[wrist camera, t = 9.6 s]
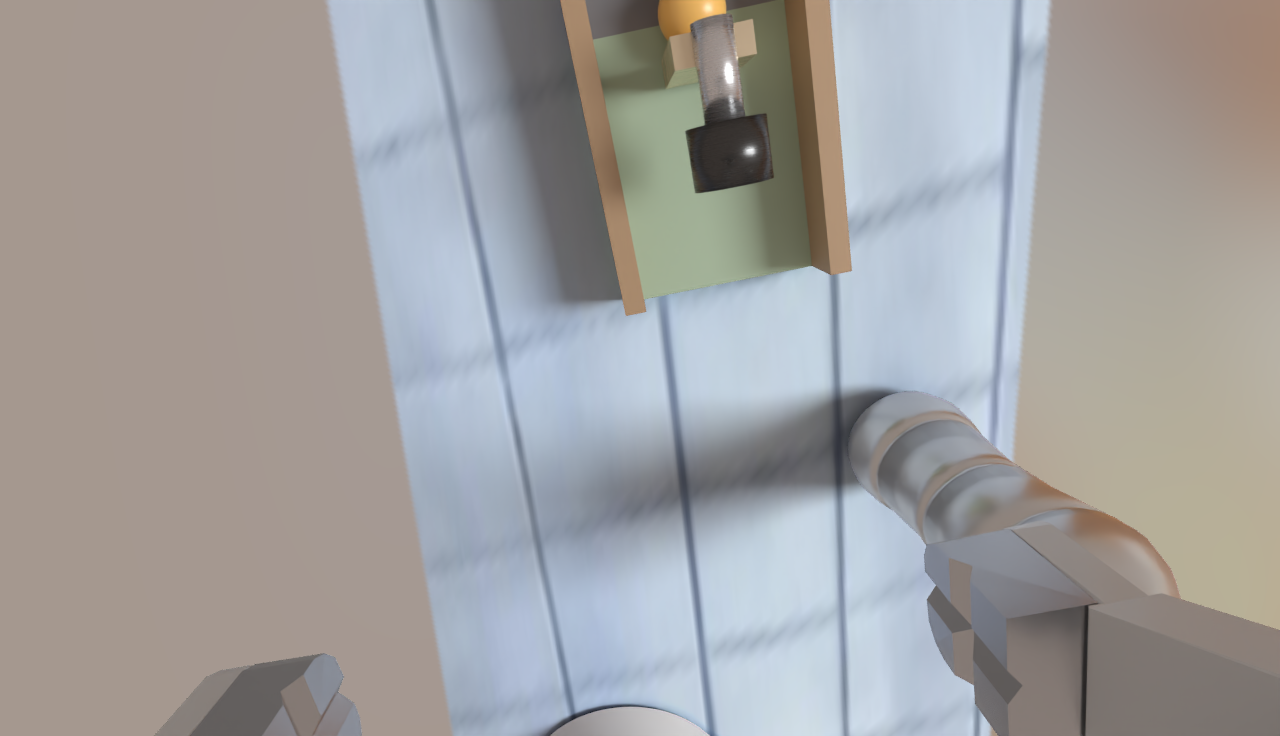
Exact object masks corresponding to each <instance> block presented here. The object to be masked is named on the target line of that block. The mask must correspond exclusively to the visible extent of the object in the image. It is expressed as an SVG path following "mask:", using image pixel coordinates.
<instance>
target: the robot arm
mask: <svg viewBox="0 0 1280 736" xmlns="http://www.w3.org/2000/svg"><path fill="white" fill-rule="evenodd" d="M924 562H925V572H926V573H927V574H928V576H929V577H930V578H931V579H932V581H933V582H934V583H935V584H936V586H935V588H934V589H933V591H932V593H931V594H930V596H929V597H928V599H927V606H928V616H929V623H930V626H931V629H932V633H933V636H934V639H935V642H936V644H937V646H938V648H939V650H940V652H941V654H942V656H943V658H944V660H945V661H946V663H947V664H948V666H949V667H950V669H951V670H952V672H953V673H954V674H955V675H956V676H958V677H960V678H962V679H964V680H965V681H967V682H969V683H971V684H973V685H974V691H975V704H976V706H977V707H978V708H979V710H980V711H981V712H982V714H983V715H984V717H985V718H986V719H987V721H988V722H989V724H990V725H991V726H992V728H993V729H994V731H995V732H996V733H997V735H998V736H1280V630H1278V629H1274V628H1271V627H1268V626H1265V625H1262V624H1259V623H1255V622H1252V621H1249V620H1246V619H1243V618H1239V617H1236V616H1233V615H1230V614H1227V613H1223V612H1220V611H1217V610H1214V609H1211V608H1207V607H1204V606H1201V605H1198V604H1194V603H1191V602H1188V601H1185V600H1182V599H1179V598H1176V597H1172V596H1169V595H1166V594H1163V593H1160V594H1154V595H1147V594H1146V593H1144V592H1143V591H1142V590H1140V589H1139V588H1138V587H1136V586H1135V585H1133V584H1132V583H1131V582H1129V581H1128V580H1127V579H1125V578H1124V577H1123V576H1121V575H1120V574H1119V573H1117V572H1116V571H1114V570H1113V569H1112V568H1110V567H1109V566H1108V565H1106V564H1105V563H1104V562H1102V561H1101V560H1100V559H1098V558H1097V557H1095V556H1094V555H1093V554H1091V553H1090V552H1089V551H1087V550H1086V549H1085V548H1083V547H1082V546H1081V545H1079V544H1078V543H1076V542H1075V541H1074V540H1072V539H1071V538H1070V537H1068V536H1067V535H1066V534H1064V533H1063V532H1062V531H1060V530H1059V529H1057V528H1056V527H1055V526H1053V525H1052V524H1050V523H1047V522H1043V521H1036V522H1031V523H1026V524H1022V525H1017V526H1012V527H1008V528H1003V529H1002V530H999V531H994V532H989V533H984V534H978V535H973V536H968V537H962V538H957V539H952V540H947V541H941V542H936V543H931V544H927V545H926V549H925V554H924ZM343 677H344V676H343V674H342V672H341V670H340V667H339V665H338V663H337V661H336V659H335V657H333V656H330V655H327V654H324V653H323V654H317V655H311V656H304V657H299V658H292V659H286V660H279V661H273V662H267V663H260V664H255V665H253V666H243V667H238V668H232V669H226V670H221V671H218V672H216V673H214V674H212V675H210V676H207V677H206V678H205V679H204V680H203V681H202V682H201V683H200V684H199V686H198V687H197V688H196V689H195V690H194V691H193V692H192V693H191V695H190V696H189V697H188V698H187V699H186V700H185V701H184V703H183V704H182V705H181V706H180V707H179V708H178V709H177V710H176V712H175V713H174V714H173V715H172V716H171V717H170V718H169V719H168V721H167V722H166V723H165V724H164V725H163V726H162V727H161V729H160V730H159V731H158V732H157V733H156V734H155V735H154V736H362V733H361V724H360V717H359V714H358V712H357V709H356V706H355V704H354V703H353V702H352V701H350V700H349V699H348V698H346V697H345V696H343V695H342V694H340V693H339V692H338V690H339V687H340V685H341V683H342V680H343ZM550 736H710V735H709V734H707V733H706V732H705V731H703V730H702V729H701V728H699V727H698V726H697V725H695V724H693V723H692V722H690V721H688V720H686V719H684V718H682V717H680V716H677V715H675V714H672V713H669V712H666V711H662V710H657V709H652V708H644V707H618V708H610V709H604V710H599V711H596V712H592V713H589V714H586V715H583V716H581V717H578V718H576V719H574V720H572V721H570V722H568V723H566V724H565V725H563V726H562V727H560V728H559V729H558V730H556V731H555V732H554V733H552V734H551V735H550Z"/></svg>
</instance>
